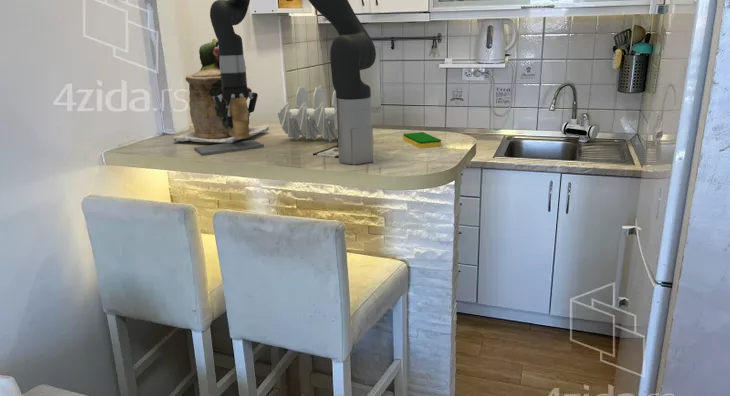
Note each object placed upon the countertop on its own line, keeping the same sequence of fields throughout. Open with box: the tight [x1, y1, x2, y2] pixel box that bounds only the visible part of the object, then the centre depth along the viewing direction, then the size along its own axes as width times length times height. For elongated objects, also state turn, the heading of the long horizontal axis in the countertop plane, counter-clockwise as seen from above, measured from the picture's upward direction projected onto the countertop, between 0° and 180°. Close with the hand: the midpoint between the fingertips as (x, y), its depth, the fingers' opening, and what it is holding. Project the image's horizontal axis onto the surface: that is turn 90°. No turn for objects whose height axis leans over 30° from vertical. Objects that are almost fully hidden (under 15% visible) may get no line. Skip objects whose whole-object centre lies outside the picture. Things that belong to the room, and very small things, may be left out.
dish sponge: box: [402, 131, 442, 149], centre depth 170 cm, size 7×14×2 cm, turn 17°
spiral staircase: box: [277, 85, 338, 143], centre depth 176 cm, size 18×18×25 cm
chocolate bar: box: [312, 144, 339, 159], centre depth 163 cm, size 9×1×18 cm
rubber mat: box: [193, 139, 265, 157], centre depth 170 cm, size 10×19×1 cm, turn 120°
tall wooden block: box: [229, 97, 251, 140], centre depth 168 cm, size 4×8×12 cm, turn 30°
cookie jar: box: [172, 38, 270, 144], centre depth 182 cm, size 25×25×32 cm
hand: (238, 127), depth 169 cm, fingers closed on tall wooden block, 4 cm apart
